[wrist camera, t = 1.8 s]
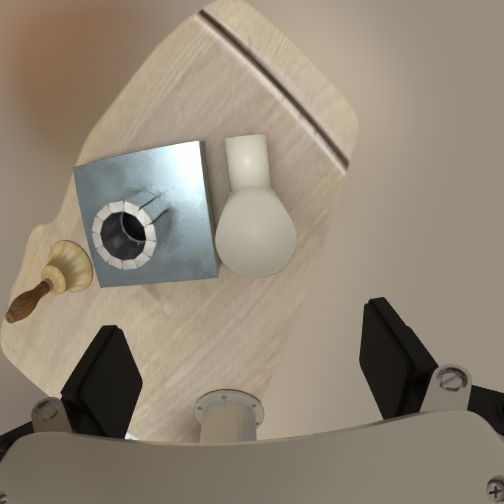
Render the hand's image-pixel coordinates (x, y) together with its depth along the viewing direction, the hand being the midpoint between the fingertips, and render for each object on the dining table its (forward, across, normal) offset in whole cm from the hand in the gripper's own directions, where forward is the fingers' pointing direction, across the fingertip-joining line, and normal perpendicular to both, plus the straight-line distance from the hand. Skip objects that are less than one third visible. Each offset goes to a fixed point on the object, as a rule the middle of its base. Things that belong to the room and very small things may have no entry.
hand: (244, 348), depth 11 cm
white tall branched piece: (+29, -1, -2) cm, 29 cm away
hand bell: (+29, +27, +6) cm, 40 cm away
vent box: (+28, +12, 0) cm, 31 cm away
